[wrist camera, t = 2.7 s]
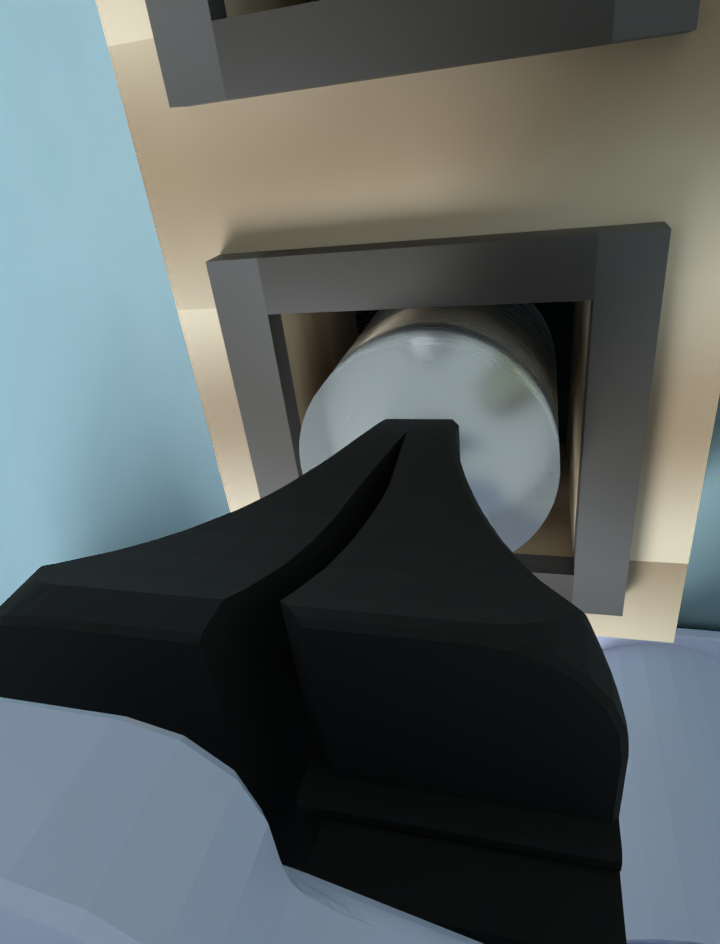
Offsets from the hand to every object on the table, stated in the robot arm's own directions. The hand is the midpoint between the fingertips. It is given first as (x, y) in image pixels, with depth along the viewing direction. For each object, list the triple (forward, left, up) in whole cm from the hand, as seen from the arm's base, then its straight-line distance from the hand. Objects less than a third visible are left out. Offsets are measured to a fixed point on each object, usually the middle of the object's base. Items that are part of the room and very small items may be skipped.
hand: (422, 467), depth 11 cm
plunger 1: (0, 0, -5) cm, 5 cm away
